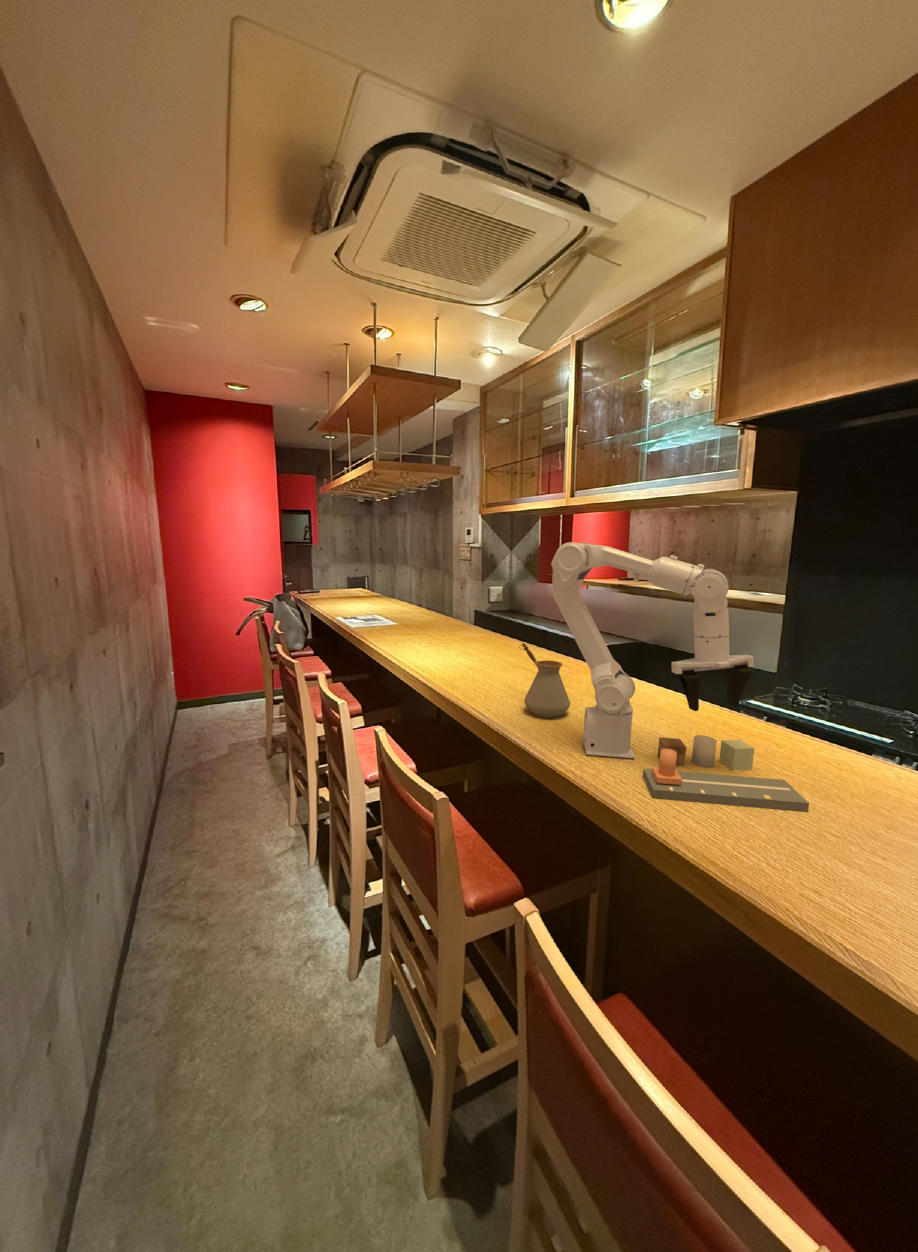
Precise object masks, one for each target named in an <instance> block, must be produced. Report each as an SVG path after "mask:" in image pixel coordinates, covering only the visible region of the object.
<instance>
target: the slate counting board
mask: <svg viewBox="0 0 918 1252" xmlns="http://www.w3.org/2000/svg"><path fill="white" fill-rule="evenodd" d="M676 771H677V772H678V774H679V775H680V777H681V778H682V785H676V784H664V783H657V782H656V780H655V778H654V776H653V774H652V768H644V767H643V770H642V778H643V780H644V782H645V784H646V786H647V788H648V791H649V792H650V795H651V797H652V798H653V799H661V800H671V801H672V800H673V801H685V802H697V803H704V804H707V803H708V804H718V805H727V806H728V805H729V806H738V807H751V808H752V807H753V808H761V809H772V810H774V809H775V810H785V811H787V810H788V811H796V812H807V813H808V812H809V807H810V806H809V805H810V802H809V801H807V800H806V799H805V797H804V796H803V795H801V794H800V793H799V792H798V791H797V790H796V789H795V787H793V786H792V785H791V784H789V782H787V781H786V780H785V779H779V778H778V779H777V778H766V777H764V778H763V777H755V776H752V777H751V776H741V775H728V774H718V773H716V774H715V773H706V772H705V773H703V772H694V771H693V772H692V771H680V770H676Z"/></svg>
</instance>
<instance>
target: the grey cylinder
mask: <svg viewBox="0 0 918 1252" xmlns="http://www.w3.org/2000/svg"><path fill="white" fill-rule="evenodd" d="M716 749H717V739H716V738H714V737H712V736H708V735H702V734H696V735H694V736H693V744H692V753H691V763H692V764H693V765H695V766H698V767H700V768H704V769H705V768H707V769H711V768H714V766H715V761H716Z"/></svg>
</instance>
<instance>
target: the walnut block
mask: <svg viewBox="0 0 918 1252" xmlns="http://www.w3.org/2000/svg"><path fill="white" fill-rule="evenodd" d="M661 749H672V750H674V751H676V752H677V757H676V766H678V767H685V763H686V753H687V746H686V745H685V743H684V742H683V740H681V738H676V737H675V738H673V737H672V738H670V737H658V747H657V750H658V751H657V757H658V759H659V760H660V753H661Z"/></svg>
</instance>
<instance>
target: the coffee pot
mask: <svg viewBox="0 0 918 1252" xmlns="http://www.w3.org/2000/svg"><path fill="white" fill-rule="evenodd" d="M521 646H522V648H520V647H521ZM518 648H519V649H521V650H523V651H526V654H527V656H528V657H529V658H530V660H531V661H532V662H533V663H534V665H535V666H536V667H537V672H536V675H535V677H534V679H533V681H532V683H531V685H530V687H529V689H528V692H527V693H526V695H525V697H524V699H523V700H524V705H525V707H526V708H527V709H528V711H530V712H531V713H532V715H534V716H537V717H539V718H540V717H541V718H548V719H550V718H551V719H554V718H560V717H561V716H563V714H564V713H566V712H567V711H568V710H569V709H570V707H571V701H570V699H569V696H568V693H567V691H566V688H565V685H564V682H563V679H562V677H561V675H560V669H561V667H562V666H563V663H562V662H560V661H555V660H537V659H536V657H535V656H534V654H533V653H532V651H531V650H530V649H529V647H528V645H527V644H526V643H524V642H522V643H521V644H520V645H519V646H518Z"/></svg>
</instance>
